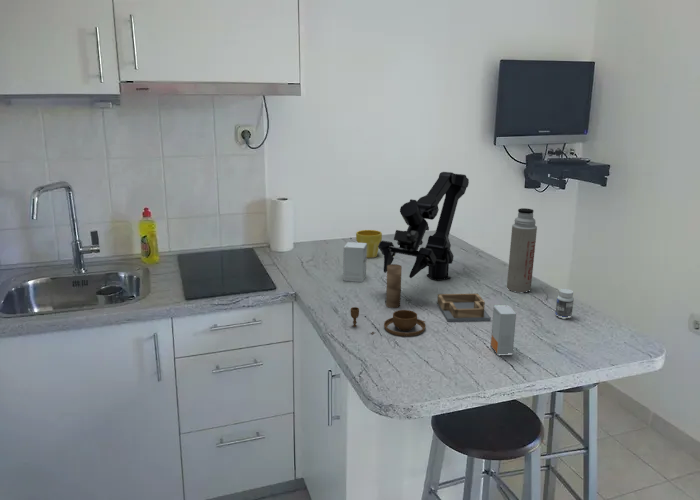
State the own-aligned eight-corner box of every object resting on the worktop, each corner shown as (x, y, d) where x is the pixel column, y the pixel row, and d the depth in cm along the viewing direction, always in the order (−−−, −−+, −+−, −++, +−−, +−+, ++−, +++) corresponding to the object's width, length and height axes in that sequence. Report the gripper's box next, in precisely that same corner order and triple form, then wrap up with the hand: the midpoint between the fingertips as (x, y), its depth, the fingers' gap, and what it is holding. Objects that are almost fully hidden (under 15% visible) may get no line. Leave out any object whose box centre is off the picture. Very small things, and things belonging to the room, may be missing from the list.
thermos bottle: (535, 290, 199) (544, 210, 191) (518, 294, 195) (525, 212, 188) (519, 283, 206) (526, 206, 198) (501, 287, 202) (508, 208, 194)
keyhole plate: (436, 304, 186) (437, 293, 185) (476, 303, 187) (477, 292, 186) (447, 321, 172) (448, 310, 171) (490, 320, 173) (491, 309, 172)
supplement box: (363, 282, 206) (363, 248, 202) (342, 281, 207) (342, 246, 204) (366, 276, 213) (367, 242, 209) (346, 274, 214) (347, 241, 211)
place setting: (407, 346, 158) (408, 326, 156) (346, 328, 169) (346, 309, 167) (436, 325, 171) (437, 306, 170) (378, 310, 182) (379, 292, 181)
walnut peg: (395, 302, 188) (396, 263, 184) (402, 306, 184) (404, 267, 180) (383, 304, 186) (384, 265, 182) (390, 309, 182) (391, 269, 178)
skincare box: (489, 346, 157) (493, 305, 153) (505, 346, 157) (508, 304, 154) (497, 356, 151) (500, 313, 147) (513, 356, 151) (517, 313, 148)
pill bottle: (551, 315, 178) (554, 289, 176) (564, 313, 180) (567, 287, 178) (562, 320, 174) (565, 294, 172) (574, 318, 176) (578, 292, 173)
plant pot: (357, 251, 243) (357, 228, 240) (382, 252, 242) (382, 229, 239) (354, 258, 233) (354, 235, 231) (380, 260, 232) (380, 236, 229)
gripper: (381, 216, 188) (362, 256, 183) (434, 224, 179) (416, 267, 173) (392, 235, 197) (375, 274, 191) (443, 243, 187) (426, 285, 181)
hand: (397, 274), depth 184 cm, fingers open, 9 cm apart
